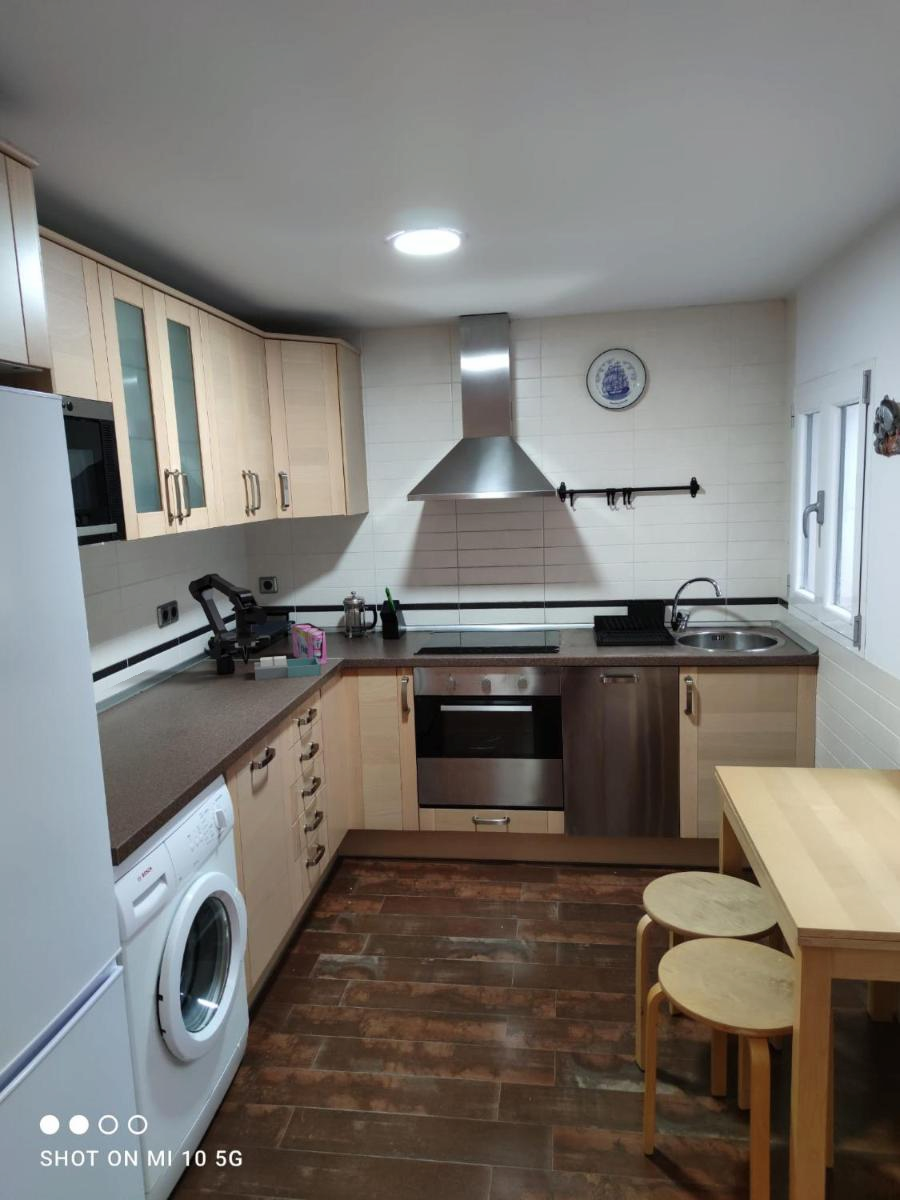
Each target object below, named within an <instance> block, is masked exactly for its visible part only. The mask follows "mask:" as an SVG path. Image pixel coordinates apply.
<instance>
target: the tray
mask: <svg viewBox="0 0 900 1200" xmlns="http://www.w3.org/2000/svg"><path fill="white" fill-rule="evenodd" d="M286 662H287V666H288V677H287V678H288V679H289V678H290V679H292V678H293V679H294V678H303V677H302V676H306V677H314V676H315V677H316V676H317V677H318V676H321V675H322V671H321V667H322V666H321V664H320V663H319V661H318V658H317V657H314V658H301V659H298V658H292V659H290V658H289V659H286Z"/></svg>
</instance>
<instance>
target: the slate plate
mask: <svg viewBox="0 0 900 1200" xmlns="http://www.w3.org/2000/svg"><path fill="white" fill-rule="evenodd" d="M286 663H287V662H286ZM254 676H255V681H258V680H270V679H271V680H272V679H285V678H288V666H287V665H277V666H274V660H273V666H265V667H261V663H260V662H256V661H255V662H254Z"/></svg>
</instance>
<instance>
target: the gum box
mask: <svg viewBox="0 0 900 1200" xmlns="http://www.w3.org/2000/svg"><path fill="white" fill-rule="evenodd" d="M291 632H292V633H291V634H292V647H293V648H292V652H293V657H295V659H301V658H314V657H317V658H318V661H319V663H320V665H326V663H327V664H328V661H327V660H328V659H327V644H326V642H327V641H326V630H324V629H323V628H321V627H318V626H317V625H314V624H313V623H310V622H303V623H294V624H291Z"/></svg>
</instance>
